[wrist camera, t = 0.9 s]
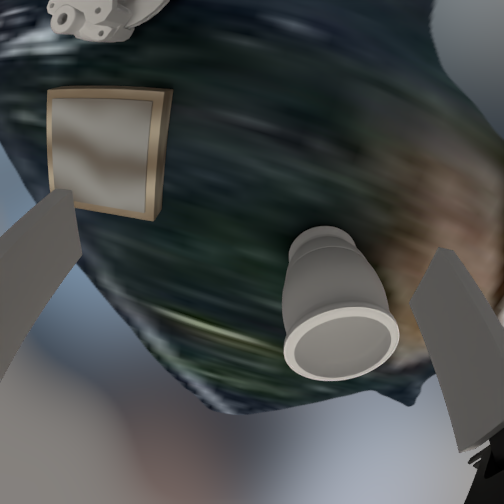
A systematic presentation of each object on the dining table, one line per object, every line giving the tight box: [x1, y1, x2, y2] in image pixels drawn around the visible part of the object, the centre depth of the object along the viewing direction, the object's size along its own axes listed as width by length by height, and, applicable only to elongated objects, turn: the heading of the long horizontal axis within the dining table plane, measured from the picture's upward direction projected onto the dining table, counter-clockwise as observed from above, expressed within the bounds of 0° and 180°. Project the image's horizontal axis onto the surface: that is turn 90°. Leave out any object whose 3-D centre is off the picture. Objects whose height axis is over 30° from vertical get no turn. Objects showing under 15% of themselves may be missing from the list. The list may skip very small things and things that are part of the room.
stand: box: [47, 86, 173, 221], centre depth 30 cm, size 14×14×3 cm
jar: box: [282, 226, 399, 381], centre depth 32 cm, size 11×10×15 cm
